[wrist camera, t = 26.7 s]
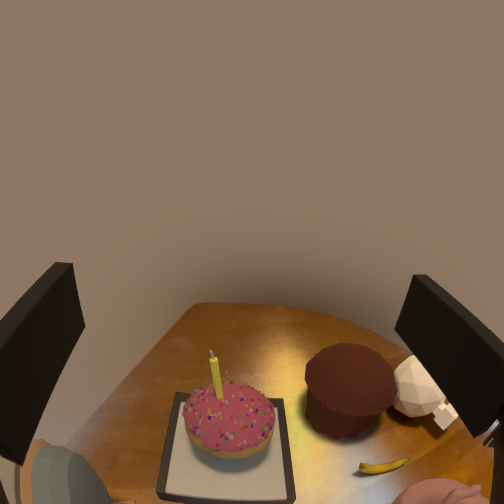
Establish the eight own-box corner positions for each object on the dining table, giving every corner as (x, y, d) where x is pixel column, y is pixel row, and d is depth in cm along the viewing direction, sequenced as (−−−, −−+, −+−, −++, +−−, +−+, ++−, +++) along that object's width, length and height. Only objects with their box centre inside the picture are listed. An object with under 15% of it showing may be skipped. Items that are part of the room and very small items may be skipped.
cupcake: (169, 446, 24) (152, 366, 19) (216, 399, 31) (218, 316, 27) (244, 488, 20) (257, 423, 16) (283, 430, 27) (306, 350, 23)
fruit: (402, 461, 25) (413, 448, 23) (404, 468, 24) (416, 456, 22) (349, 471, 24) (359, 460, 23) (351, 479, 23) (361, 468, 22)
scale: (159, 499, 20) (154, 489, 19) (177, 403, 33) (175, 388, 32) (291, 506, 21) (297, 497, 19) (280, 409, 34) (283, 395, 32)
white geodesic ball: (365, 392, 34) (417, 454, 25) (406, 341, 31) (469, 404, 22) (394, 382, 39) (439, 432, 30) (429, 337, 36) (482, 388, 27)
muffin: (392, 413, 32) (423, 360, 28) (344, 463, 25) (377, 413, 22) (330, 371, 41) (348, 317, 37) (276, 407, 34) (288, 350, 30)
